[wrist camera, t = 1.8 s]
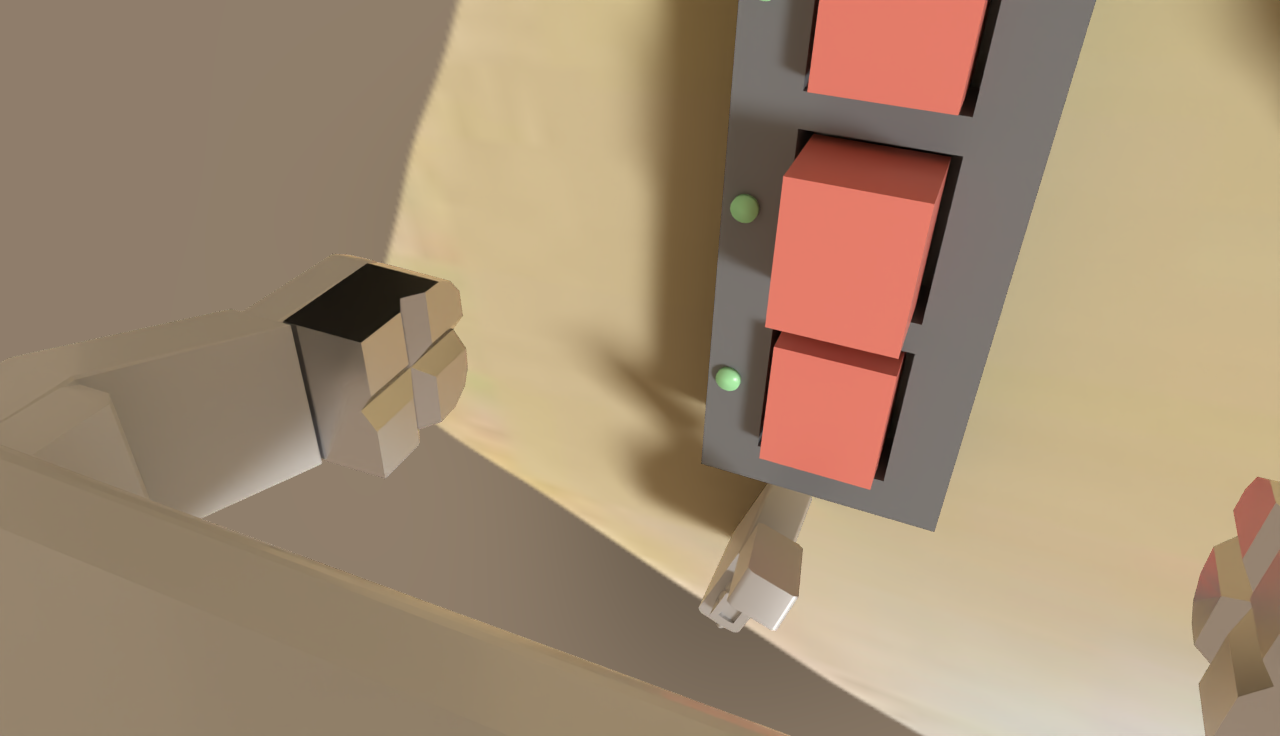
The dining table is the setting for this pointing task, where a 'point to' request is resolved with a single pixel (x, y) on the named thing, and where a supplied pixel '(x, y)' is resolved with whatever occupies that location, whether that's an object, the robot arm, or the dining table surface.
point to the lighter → (760, 563)
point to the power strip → (959, 252)
